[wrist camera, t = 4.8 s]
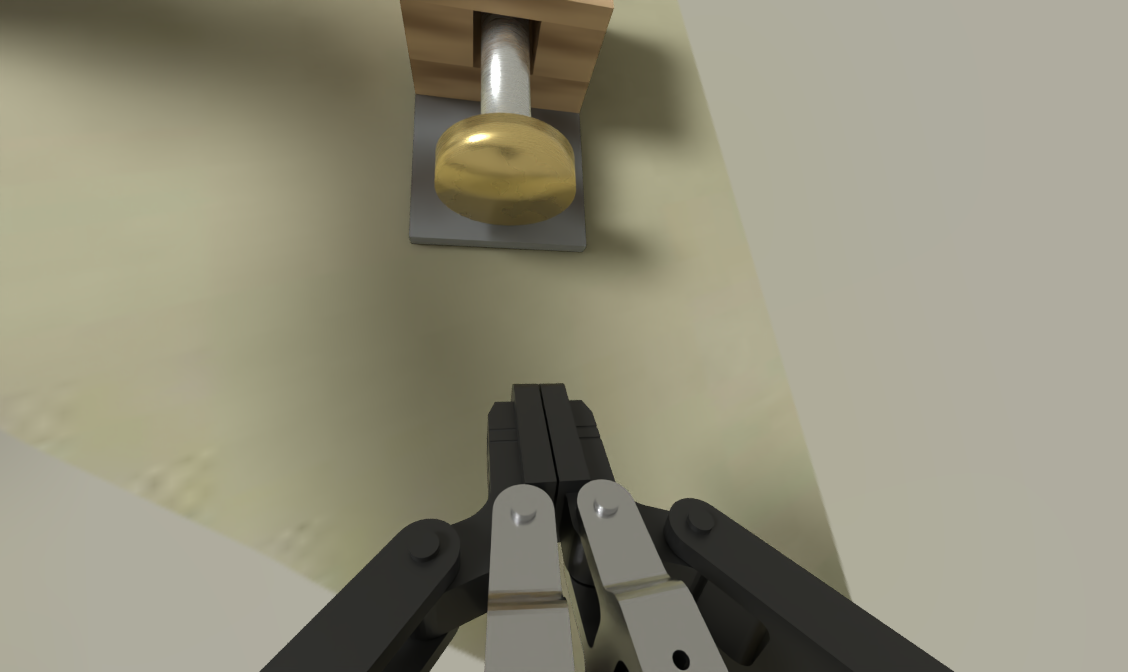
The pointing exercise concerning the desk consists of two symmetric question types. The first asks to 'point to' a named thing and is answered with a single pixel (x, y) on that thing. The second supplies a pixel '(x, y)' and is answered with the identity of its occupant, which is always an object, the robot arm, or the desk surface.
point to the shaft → (505, 141)
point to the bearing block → (453, 92)
